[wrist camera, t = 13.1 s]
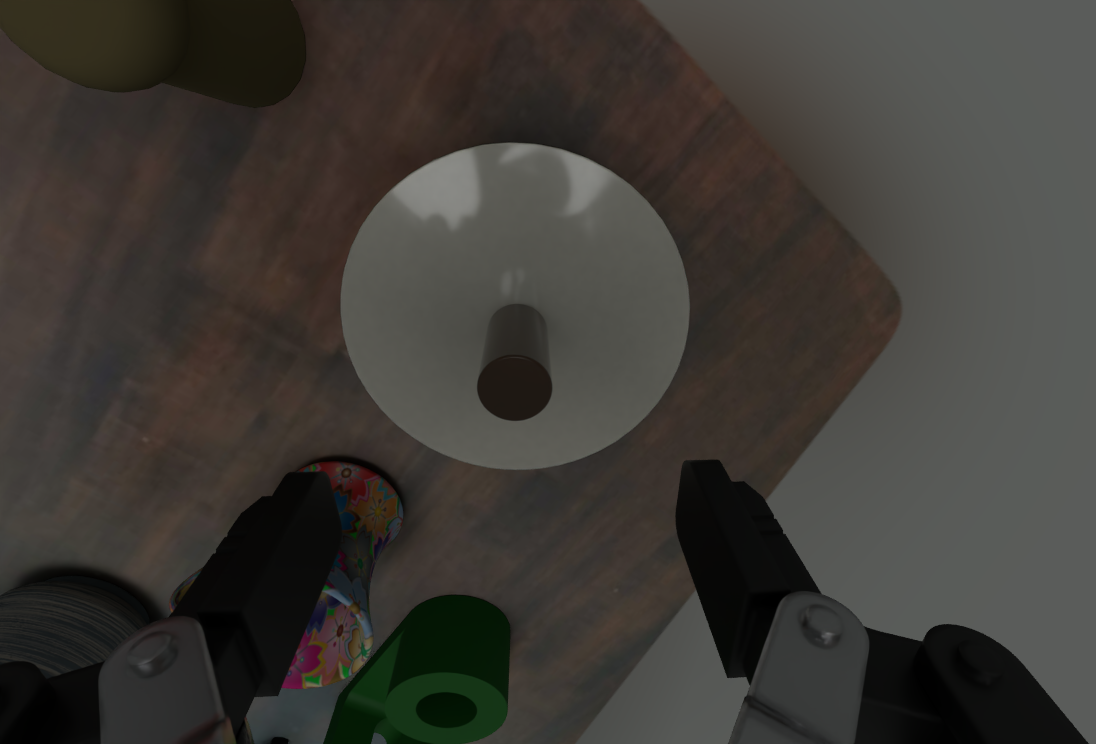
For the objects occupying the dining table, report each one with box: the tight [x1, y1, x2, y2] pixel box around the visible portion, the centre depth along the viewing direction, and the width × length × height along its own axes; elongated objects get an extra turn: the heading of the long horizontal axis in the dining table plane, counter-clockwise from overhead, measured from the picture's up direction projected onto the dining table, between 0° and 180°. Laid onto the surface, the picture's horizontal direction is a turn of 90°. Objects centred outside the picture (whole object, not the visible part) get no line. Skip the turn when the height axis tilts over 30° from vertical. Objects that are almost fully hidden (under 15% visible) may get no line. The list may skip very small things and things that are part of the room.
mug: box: [169, 461, 403, 689], centre depth 32 cm, size 12×9×11 cm
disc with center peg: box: [341, 142, 690, 470], centre depth 19 cm, size 14×14×6 cm
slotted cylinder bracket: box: [323, 595, 510, 744], centre depth 42 cm, size 18×9×6 cm, turn 144°
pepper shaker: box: [0, 0, 306, 108], centre depth 19 cm, size 6×6×11 cm
